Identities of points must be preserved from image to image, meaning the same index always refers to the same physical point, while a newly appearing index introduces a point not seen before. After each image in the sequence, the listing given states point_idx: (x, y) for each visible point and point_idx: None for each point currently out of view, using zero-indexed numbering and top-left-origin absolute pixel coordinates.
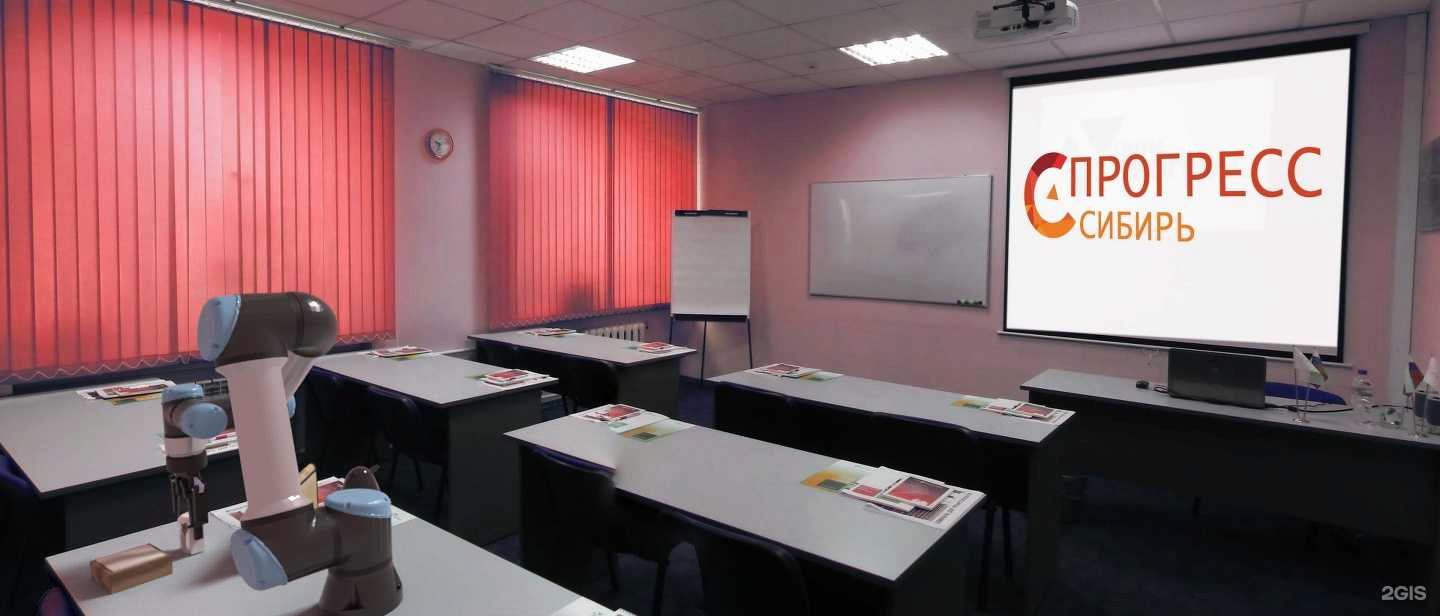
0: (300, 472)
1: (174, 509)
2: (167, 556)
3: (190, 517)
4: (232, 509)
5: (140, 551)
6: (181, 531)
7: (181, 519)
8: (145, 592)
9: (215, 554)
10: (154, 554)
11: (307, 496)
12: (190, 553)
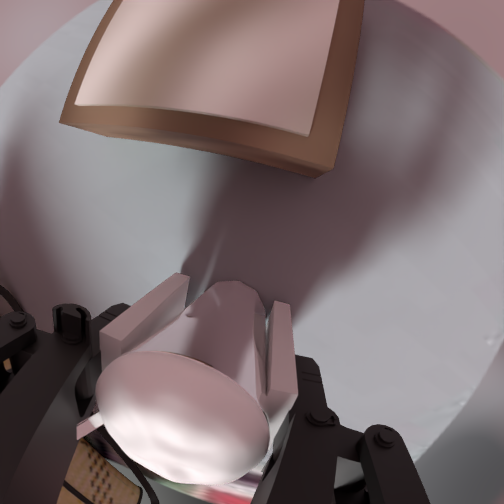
0: None
1: (387, 469)
2: (67, 108)
3: (41, 374)
4: None
5: (233, 53)
6: (194, 318)
7: (144, 374)
8: (88, 43)
9: None
10: (120, 74)
11: None
12: (186, 276)
